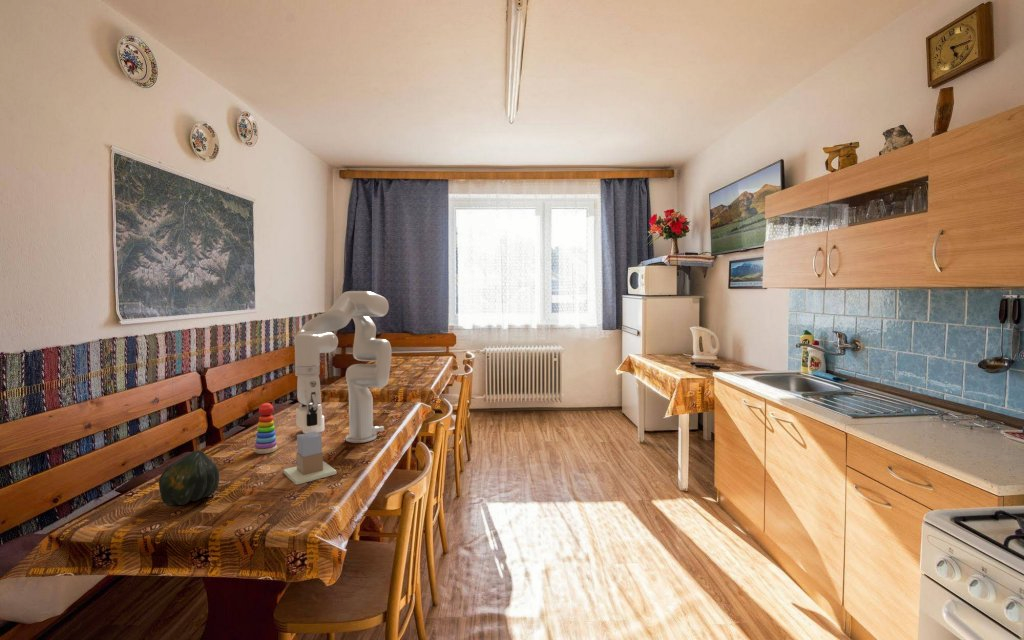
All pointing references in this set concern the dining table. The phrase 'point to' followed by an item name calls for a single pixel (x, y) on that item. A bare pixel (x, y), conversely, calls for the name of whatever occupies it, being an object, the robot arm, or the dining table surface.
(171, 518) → the dining table surface
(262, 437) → the stacking toy
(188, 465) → the squash
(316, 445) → the slate brick
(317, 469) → the baseplate
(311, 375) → the robot arm
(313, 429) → the cylinder with rectangular tab
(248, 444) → the dining table surface
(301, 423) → the cream brick
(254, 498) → the dining table surface
